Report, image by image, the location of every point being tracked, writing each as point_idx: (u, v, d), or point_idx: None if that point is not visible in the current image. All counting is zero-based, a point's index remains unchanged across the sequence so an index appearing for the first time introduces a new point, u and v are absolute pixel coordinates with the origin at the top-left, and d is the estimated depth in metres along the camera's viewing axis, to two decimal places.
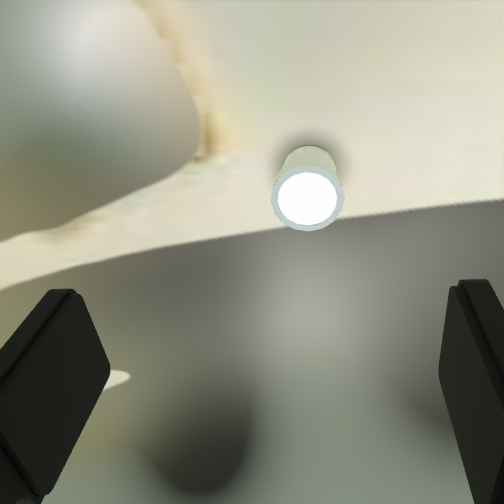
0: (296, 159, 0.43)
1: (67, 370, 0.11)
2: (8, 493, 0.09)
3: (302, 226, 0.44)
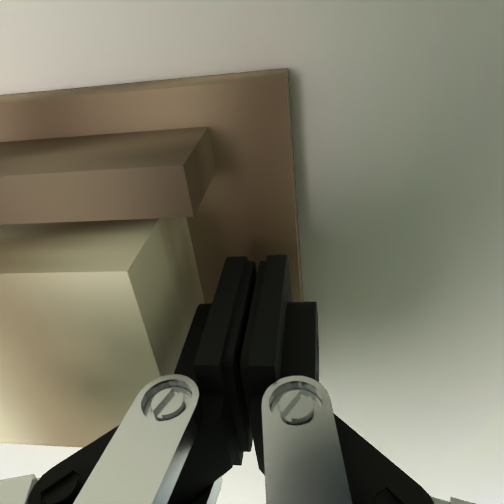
0: None
1: None
2: (231, 446, 0.09)
3: None
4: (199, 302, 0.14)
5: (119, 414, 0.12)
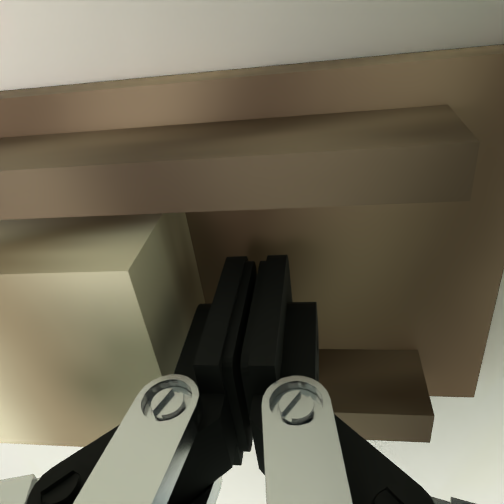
0: None
1: None
2: (231, 446, 0.09)
3: None
4: (199, 301, 0.14)
5: (121, 414, 0.12)
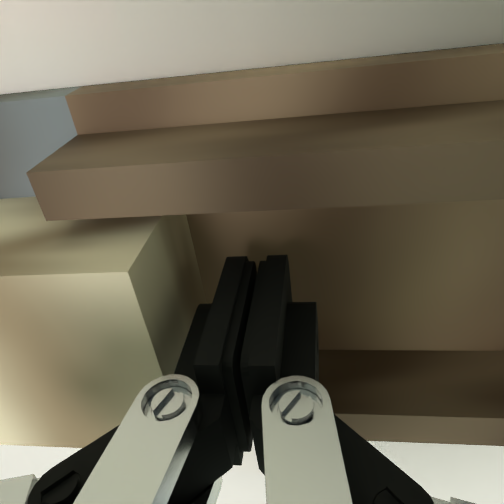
0: None
1: None
2: (231, 446, 0.09)
3: None
4: (201, 302, 0.14)
5: (123, 415, 0.12)
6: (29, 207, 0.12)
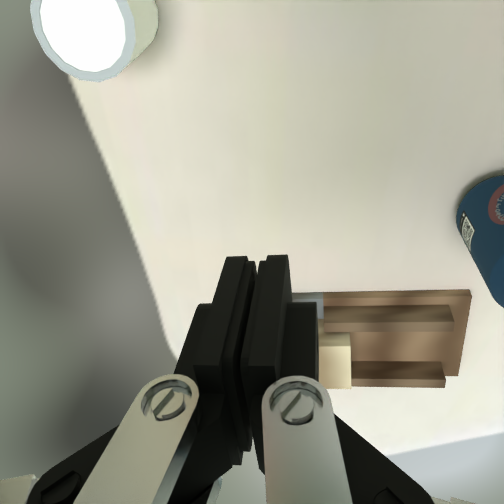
0: None
1: None
2: (231, 446, 0.09)
3: (38, 20, 0.28)
4: None
5: (336, 378, 0.45)
6: None
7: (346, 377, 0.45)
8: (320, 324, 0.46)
